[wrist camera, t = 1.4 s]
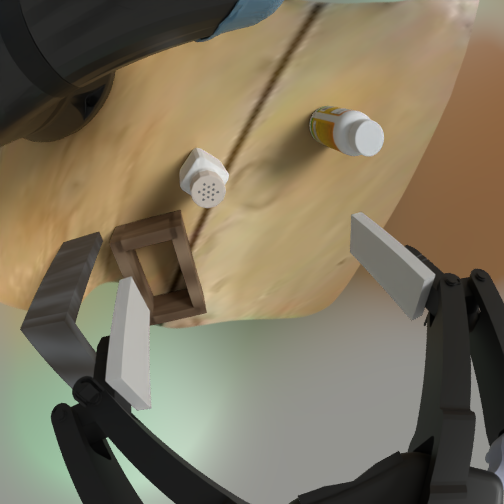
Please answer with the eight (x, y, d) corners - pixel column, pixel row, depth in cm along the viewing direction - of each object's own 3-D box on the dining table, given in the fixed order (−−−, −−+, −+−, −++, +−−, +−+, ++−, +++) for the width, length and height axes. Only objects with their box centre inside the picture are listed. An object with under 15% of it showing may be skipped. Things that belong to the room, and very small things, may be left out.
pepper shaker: (204, 187, 34) (214, 219, 26) (177, 172, 32) (177, 199, 24) (222, 161, 33) (238, 185, 25) (195, 144, 31) (202, 162, 23)
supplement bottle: (329, 151, 36) (372, 172, 28) (300, 129, 33) (340, 144, 25) (350, 121, 34) (396, 134, 26) (322, 97, 31) (367, 103, 23)
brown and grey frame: (63, 242, 32) (20, 329, 19) (180, 209, 35) (187, 294, 21) (101, 315, 40) (88, 404, 26) (203, 292, 43) (221, 384, 29)
